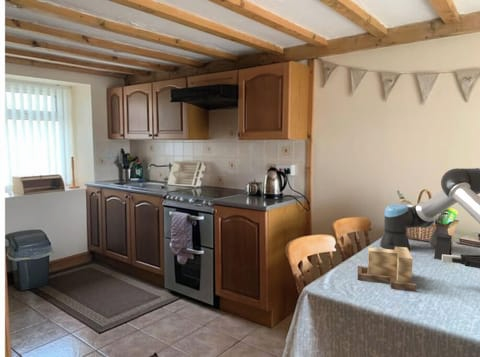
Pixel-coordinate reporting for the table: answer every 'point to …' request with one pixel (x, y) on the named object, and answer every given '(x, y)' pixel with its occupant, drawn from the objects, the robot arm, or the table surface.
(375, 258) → the oak T block
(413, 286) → the walnut T frame
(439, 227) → the coffee pot
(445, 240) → the phone stand
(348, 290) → the table surface
